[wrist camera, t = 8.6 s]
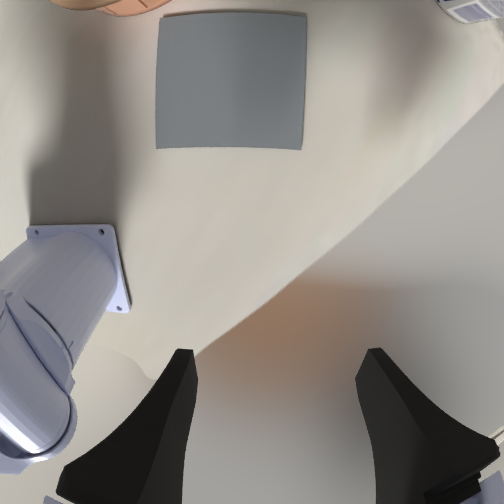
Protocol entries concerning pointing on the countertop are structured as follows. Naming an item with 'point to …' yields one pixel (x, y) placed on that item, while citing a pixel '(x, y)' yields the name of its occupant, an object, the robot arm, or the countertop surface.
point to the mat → (231, 80)
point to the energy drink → (473, 10)
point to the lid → (84, 4)
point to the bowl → (132, 7)
